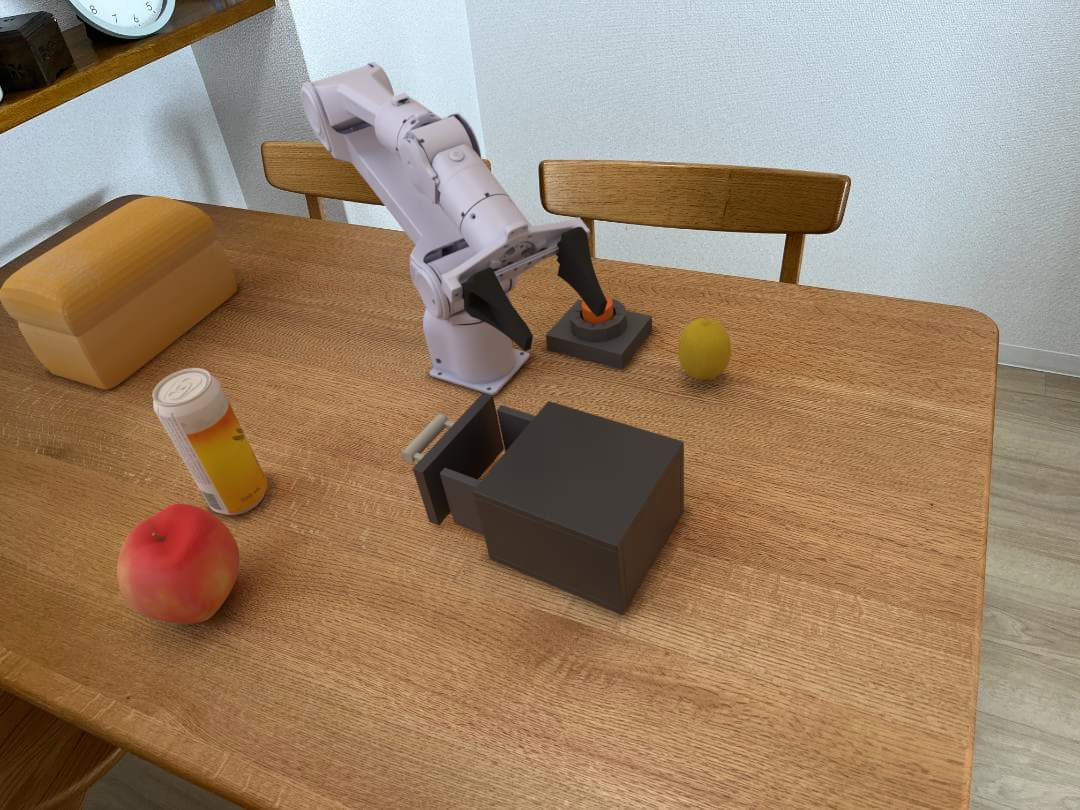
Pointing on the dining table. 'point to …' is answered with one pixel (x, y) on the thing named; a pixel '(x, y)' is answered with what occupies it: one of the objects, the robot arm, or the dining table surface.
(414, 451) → the drawer
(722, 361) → the lemon
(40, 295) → the bread
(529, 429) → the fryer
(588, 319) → the button
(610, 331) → the block
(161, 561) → the apple
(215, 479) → the beer can
